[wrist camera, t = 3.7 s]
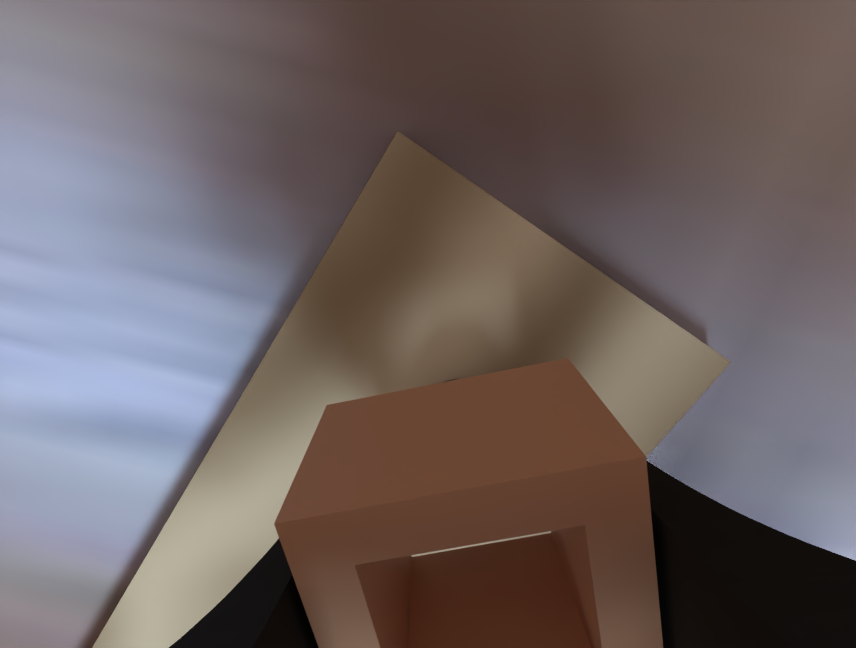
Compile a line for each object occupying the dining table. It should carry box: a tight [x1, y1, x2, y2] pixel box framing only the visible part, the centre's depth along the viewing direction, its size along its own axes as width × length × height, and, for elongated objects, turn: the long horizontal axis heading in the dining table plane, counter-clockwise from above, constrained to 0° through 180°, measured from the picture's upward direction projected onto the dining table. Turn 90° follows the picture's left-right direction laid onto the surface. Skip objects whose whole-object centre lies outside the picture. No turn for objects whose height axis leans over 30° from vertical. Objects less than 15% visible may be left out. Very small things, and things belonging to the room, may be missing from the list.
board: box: [92, 131, 731, 648], centre depth 16 cm, size 12×28×5 cm, turn 147°
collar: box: [274, 358, 663, 648], centre depth 10 cm, size 6×6×4 cm
